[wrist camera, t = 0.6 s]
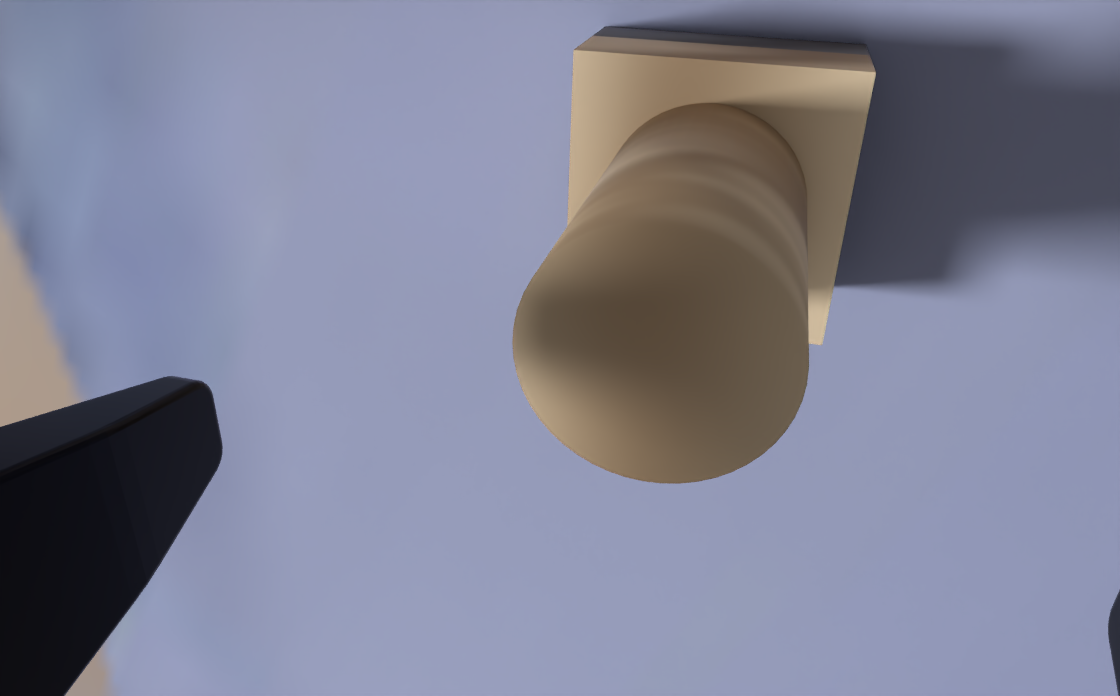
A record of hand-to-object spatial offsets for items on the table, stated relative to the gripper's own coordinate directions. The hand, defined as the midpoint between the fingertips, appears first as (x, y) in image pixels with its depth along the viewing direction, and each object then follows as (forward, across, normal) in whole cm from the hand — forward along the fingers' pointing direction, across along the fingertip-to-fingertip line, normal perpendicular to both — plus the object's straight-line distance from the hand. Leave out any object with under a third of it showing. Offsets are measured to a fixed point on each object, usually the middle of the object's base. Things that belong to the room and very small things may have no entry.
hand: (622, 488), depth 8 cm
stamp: (+11, 0, 0) cm, 11 cm away
